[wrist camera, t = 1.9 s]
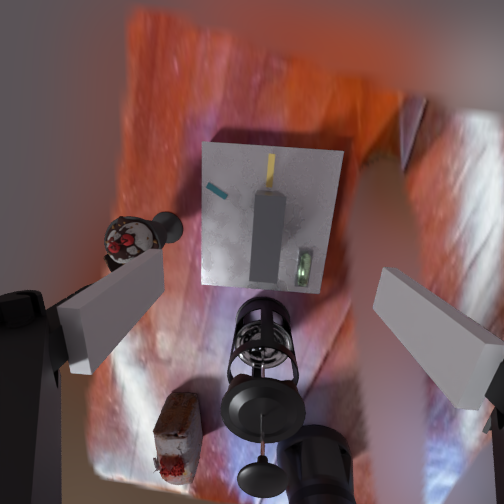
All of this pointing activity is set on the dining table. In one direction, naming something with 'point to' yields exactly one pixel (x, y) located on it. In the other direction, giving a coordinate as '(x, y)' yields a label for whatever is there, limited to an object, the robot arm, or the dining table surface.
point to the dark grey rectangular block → (267, 231)
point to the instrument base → (242, 212)
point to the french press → (263, 394)
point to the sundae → (139, 237)
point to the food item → (178, 438)
